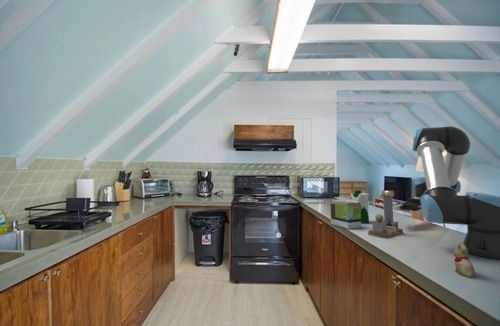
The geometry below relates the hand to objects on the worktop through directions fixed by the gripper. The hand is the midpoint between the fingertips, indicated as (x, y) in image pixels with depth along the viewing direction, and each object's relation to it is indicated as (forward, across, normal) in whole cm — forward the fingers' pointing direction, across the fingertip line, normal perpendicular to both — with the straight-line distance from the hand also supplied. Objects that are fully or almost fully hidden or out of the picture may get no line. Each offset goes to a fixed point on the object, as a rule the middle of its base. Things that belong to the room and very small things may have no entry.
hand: (395, 208), depth 141 cm
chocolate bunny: (+40, -41, -12) cm, 59 cm away
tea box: (+10, +24, -12) cm, 29 cm away
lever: (+8, 0, -8) cm, 11 cm away
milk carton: (-5, +24, -12) cm, 27 cm away
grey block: (+17, 0, -10) cm, 19 cm away
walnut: (+17, 0, -5) cm, 17 cm away
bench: (+11, 0, -12) cm, 16 cm away
